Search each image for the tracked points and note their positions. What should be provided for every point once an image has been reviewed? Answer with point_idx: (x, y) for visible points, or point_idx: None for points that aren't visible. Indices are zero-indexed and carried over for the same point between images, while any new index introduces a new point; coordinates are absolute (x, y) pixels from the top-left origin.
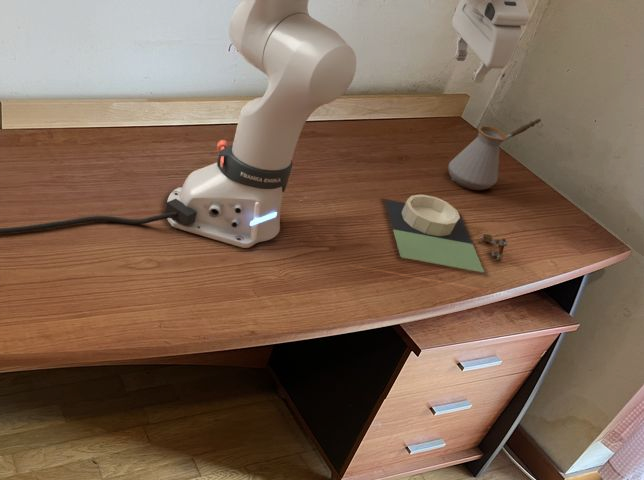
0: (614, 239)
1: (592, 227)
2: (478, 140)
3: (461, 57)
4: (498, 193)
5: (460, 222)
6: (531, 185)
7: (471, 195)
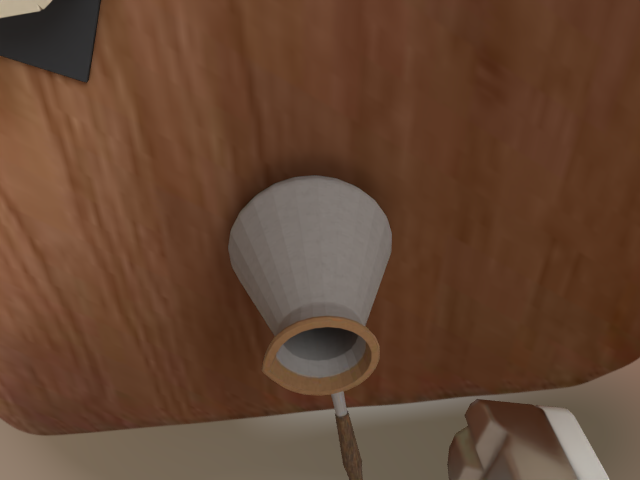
0: (61, 431)
1: (106, 414)
2: (325, 300)
3: (480, 460)
4: None
5: (16, 47)
6: None
7: (233, 198)
